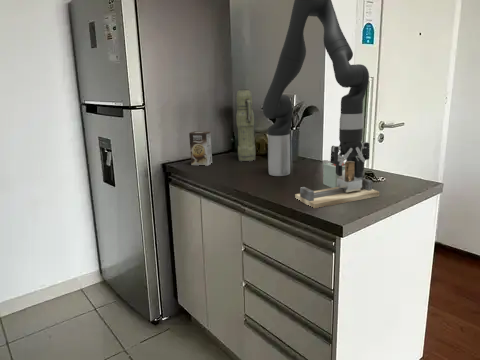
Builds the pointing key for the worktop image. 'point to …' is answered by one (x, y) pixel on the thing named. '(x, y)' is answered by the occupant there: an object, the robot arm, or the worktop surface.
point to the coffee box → (200, 148)
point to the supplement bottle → (355, 166)
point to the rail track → (335, 195)
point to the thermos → (245, 126)
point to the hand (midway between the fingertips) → (349, 173)
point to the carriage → (349, 179)
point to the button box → (331, 174)
